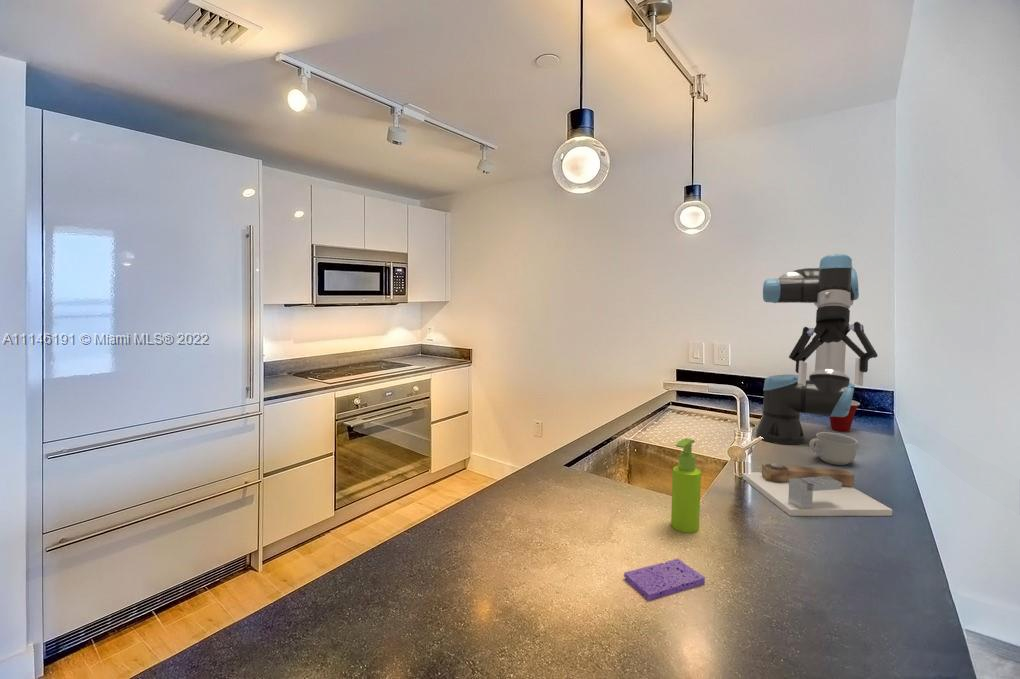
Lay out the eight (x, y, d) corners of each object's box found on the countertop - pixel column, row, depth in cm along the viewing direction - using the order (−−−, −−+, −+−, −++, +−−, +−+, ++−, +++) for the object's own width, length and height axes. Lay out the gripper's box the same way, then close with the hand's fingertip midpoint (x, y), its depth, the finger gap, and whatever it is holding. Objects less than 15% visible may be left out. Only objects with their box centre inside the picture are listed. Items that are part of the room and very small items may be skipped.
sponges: (705, 587, 84) (705, 577, 84) (648, 604, 79) (648, 593, 79) (677, 566, 90) (678, 557, 90) (623, 581, 86) (623, 571, 86)
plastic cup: (856, 435, 173) (858, 404, 172) (821, 430, 181) (823, 399, 180) (860, 429, 181) (862, 399, 180) (826, 424, 189) (828, 395, 188)
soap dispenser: (664, 527, 104) (666, 440, 103) (678, 517, 109) (681, 434, 107) (689, 537, 100) (692, 446, 98) (703, 526, 105) (706, 439, 103)
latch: (767, 481, 126) (767, 467, 126) (760, 473, 132) (761, 460, 131) (855, 487, 122) (856, 473, 121) (844, 479, 127) (845, 466, 127)
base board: (741, 477, 134) (741, 472, 133) (825, 477, 133) (825, 472, 133) (789, 515, 110) (790, 509, 110) (892, 515, 110) (892, 509, 110)
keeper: (787, 507, 114) (789, 478, 114) (826, 505, 116) (828, 476, 115) (800, 515, 110) (801, 485, 110) (839, 512, 112) (841, 482, 111)
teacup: (842, 456, 151) (844, 432, 150) (864, 468, 140) (866, 442, 140) (797, 455, 152) (798, 431, 152) (815, 467, 142) (817, 441, 141)
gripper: (779, 310, 137) (773, 381, 132) (881, 297, 115) (879, 380, 111) (792, 318, 140) (787, 387, 136) (894, 307, 119) (892, 388, 114)
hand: (828, 384), depth 123 cm, fingers open, 13 cm apart
